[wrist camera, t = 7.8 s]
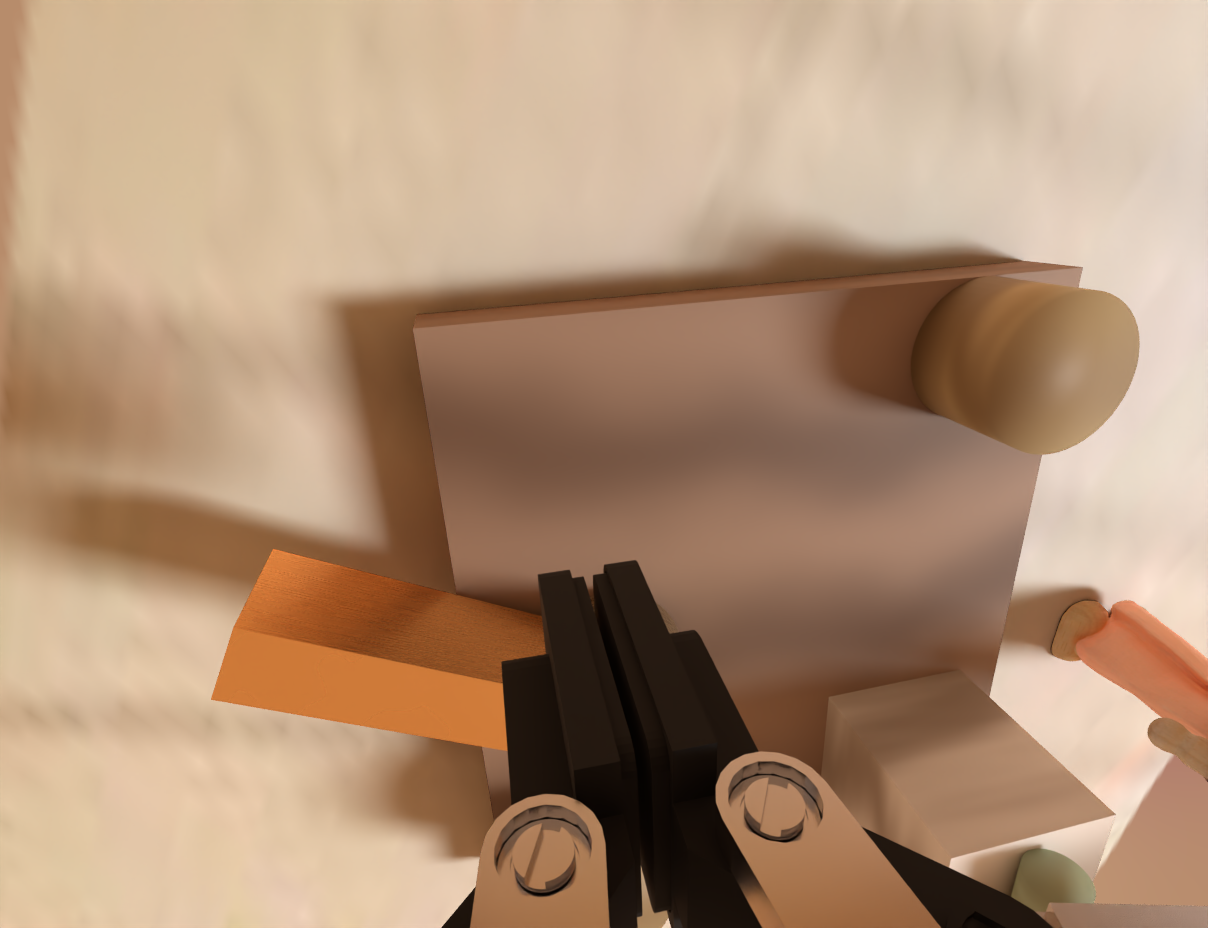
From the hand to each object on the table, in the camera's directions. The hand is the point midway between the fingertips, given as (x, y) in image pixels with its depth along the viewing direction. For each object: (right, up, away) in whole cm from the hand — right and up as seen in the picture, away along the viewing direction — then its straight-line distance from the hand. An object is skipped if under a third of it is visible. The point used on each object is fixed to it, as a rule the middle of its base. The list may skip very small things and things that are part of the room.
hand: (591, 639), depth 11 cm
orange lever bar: (-3, -2, +7) cm, 8 cm away
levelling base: (+5, -1, +11) cm, 12 cm away
